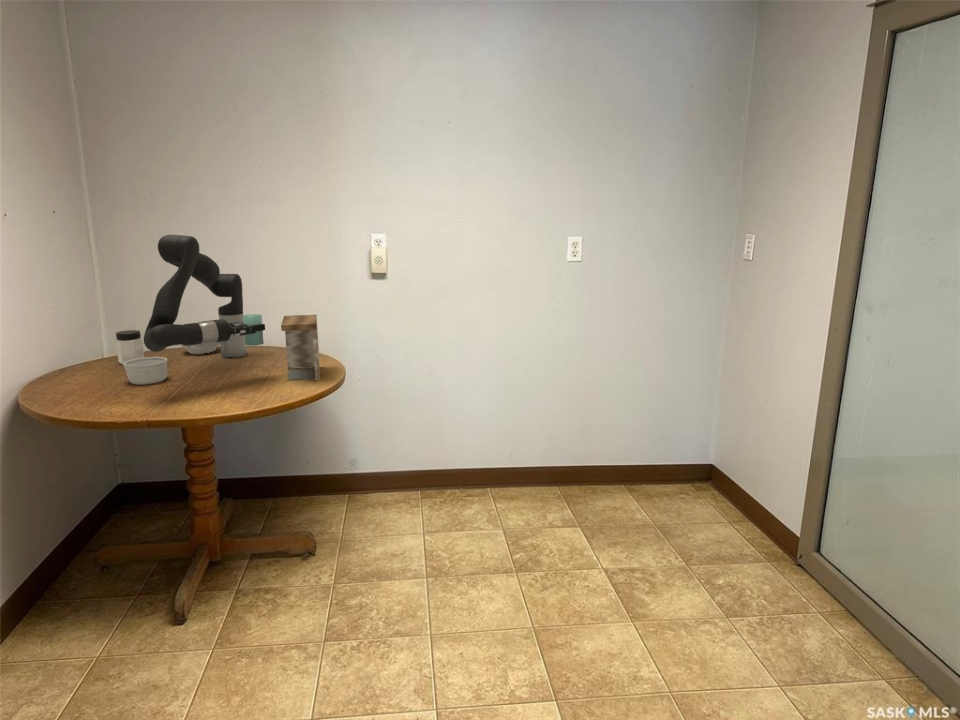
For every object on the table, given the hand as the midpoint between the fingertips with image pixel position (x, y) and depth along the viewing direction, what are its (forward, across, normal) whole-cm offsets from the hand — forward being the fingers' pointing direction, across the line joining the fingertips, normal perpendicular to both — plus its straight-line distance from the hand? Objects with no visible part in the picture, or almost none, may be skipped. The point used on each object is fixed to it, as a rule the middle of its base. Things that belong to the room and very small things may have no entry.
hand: (259, 325), depth 206 cm
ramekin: (-30, +24, +19) cm, 43 cm away
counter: (+11, -8, +18) cm, 23 cm away
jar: (-25, +56, +18) cm, 64 cm away
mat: (+10, -8, +18) cm, 22 cm away
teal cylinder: (-2, 0, +6) cm, 7 cm away
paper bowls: (+2, +54, +18) cm, 57 cm away
